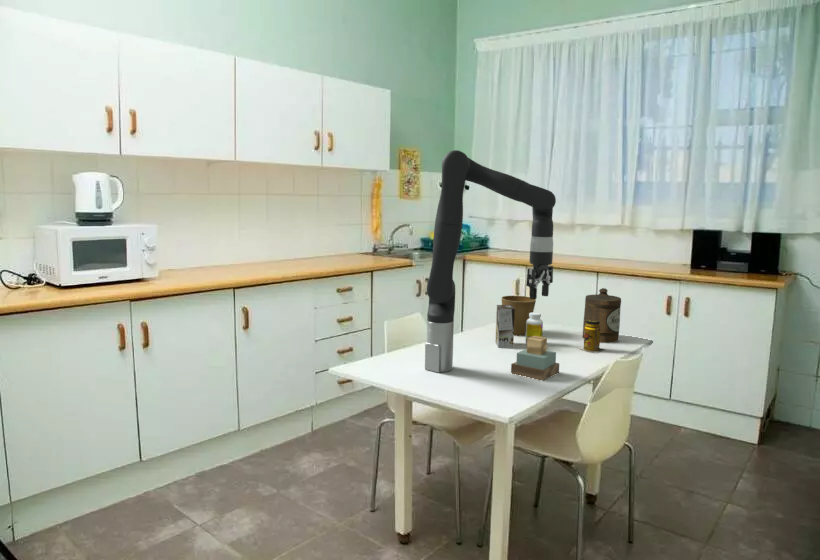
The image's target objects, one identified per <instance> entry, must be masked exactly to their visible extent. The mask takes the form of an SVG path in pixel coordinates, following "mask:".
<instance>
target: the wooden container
mask: <svg viewBox="0 0 820 560" xmlns="http://www.w3.org/2000/svg"><path fill="white" fill-rule="evenodd" d="M598 292H599V293H598V294H587V295H586V296H585V300H584V313H583V322H582V323H583V324H582V325H583V326H582V338H583V339H584V331H585V327H586V320H598V321H599V322H600V343H603V344H604V343H605V344H606V343H607V344H609V343H611V344H612V343H616V342H618V341H619V339H620V338H619V336H620V324H621V307H622V306H621V305H622V298H621V297H620V296H616V295H610V294H608V289H607V288H605V287H602V288H600V289H599V291H598Z"/></svg>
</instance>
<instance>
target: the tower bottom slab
mask: <svg viewBox="0 0 820 560" xmlns="http://www.w3.org/2000/svg"><path fill="white" fill-rule="evenodd" d="M511 373H512V375H515V374H516V376H519V375H521V376H520V377H523V376H526V377H525V378H527V377H530V378H529V379H532V378H534V379H533V380H536V379H538V380H537V381H540V380H544V379H546V378H548V377H550V378H551V376H552V377H554V376H556V375H558V374H559V373H560V363H559V362H556V363H555V364H553V365H552V366H550V367H548V368H546V369H544V370H542V369H537V368H532V367H526V366H521V365H516V361H515V362H513V363H511V364H510V374H511ZM557 373H558V374H557ZM555 374H556V375H555ZM553 375H554V376H553ZM548 379H549V378H548ZM546 380H547V379H546ZM544 381H545V380H544Z"/></svg>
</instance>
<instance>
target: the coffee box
mask: <svg viewBox="0 0 820 560" xmlns="http://www.w3.org/2000/svg"><path fill="white" fill-rule="evenodd" d="M495 311H496V312H495V313H496V315H495V316H496V317H495V344H496V346H497V348H501V349H504V348H505V349H513V348H514V339H515V338H514V336H515V335H514V319H515V308H514V307H513V306H512V305H502V304H496V310H495Z"/></svg>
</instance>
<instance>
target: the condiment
mask: <svg viewBox="0 0 820 560" xmlns="http://www.w3.org/2000/svg"><path fill="white" fill-rule="evenodd" d="M600 346H601V345H600V322H599V321H598V320H586V327H585V331H584V338H583V348H580V349H579V350H580V351H584V352H589V353H595V354H596V353H597V354H598V353H600V352H603V351H605V350H606V348H603V347H600Z"/></svg>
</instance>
